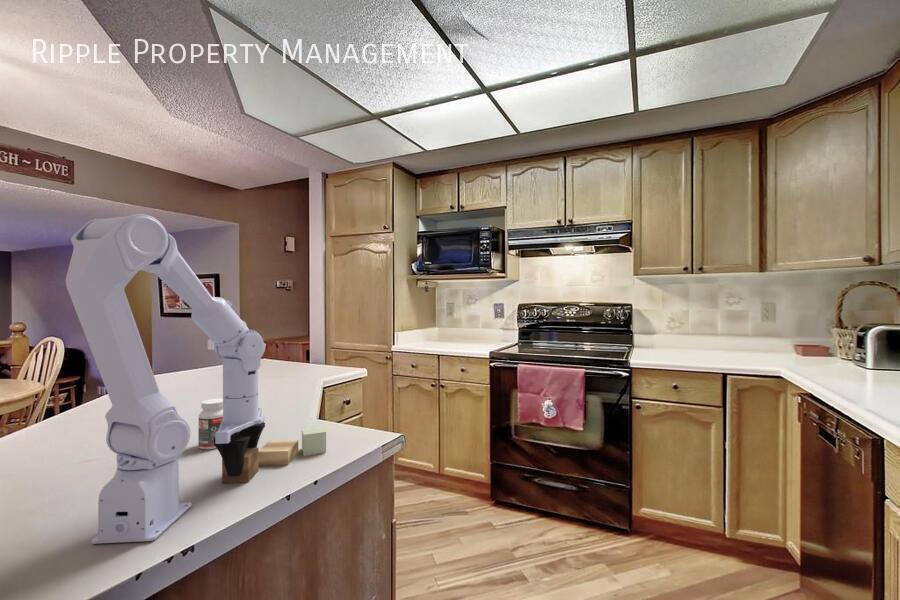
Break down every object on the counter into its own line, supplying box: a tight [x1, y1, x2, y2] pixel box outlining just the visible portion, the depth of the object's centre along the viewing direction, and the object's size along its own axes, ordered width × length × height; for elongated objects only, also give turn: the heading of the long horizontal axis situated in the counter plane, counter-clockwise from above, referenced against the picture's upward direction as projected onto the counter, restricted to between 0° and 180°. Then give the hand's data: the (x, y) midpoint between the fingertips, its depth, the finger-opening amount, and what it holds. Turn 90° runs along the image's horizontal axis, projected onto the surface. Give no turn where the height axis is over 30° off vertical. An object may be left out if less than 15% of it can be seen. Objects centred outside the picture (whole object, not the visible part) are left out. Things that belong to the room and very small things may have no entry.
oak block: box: [259, 439, 299, 466], centre depth 81 cm, size 6×6×3 cm
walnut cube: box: [221, 447, 260, 484], centre depth 73 cm, size 4×4×4 cm
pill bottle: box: [197, 397, 223, 450], centre depth 89 cm, size 6×6×10 cm
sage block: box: [301, 425, 327, 457], centre depth 86 cm, size 4×4×4 cm
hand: (240, 469), depth 73 cm, fingers closed on walnut cube, 4 cm apart
